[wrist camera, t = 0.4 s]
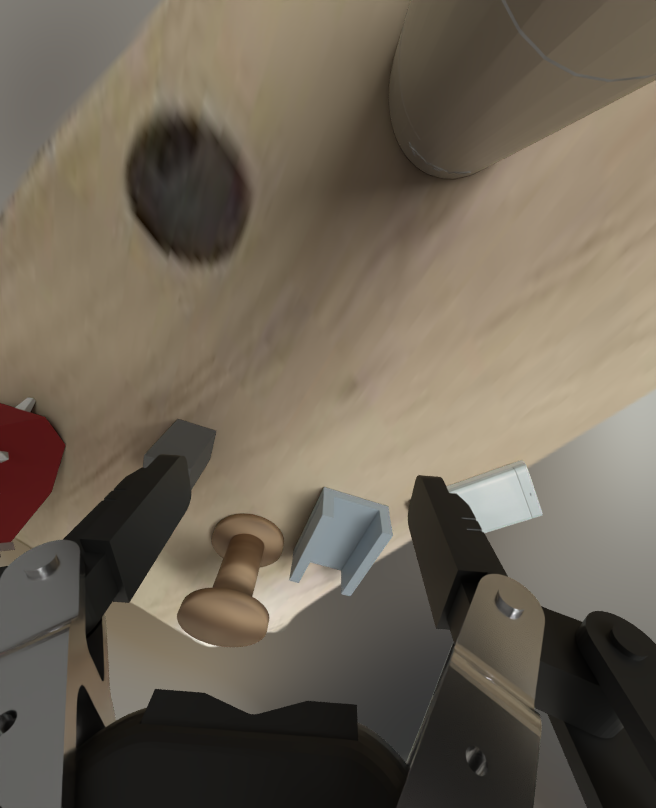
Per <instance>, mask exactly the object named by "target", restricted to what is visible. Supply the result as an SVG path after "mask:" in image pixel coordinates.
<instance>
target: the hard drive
mask: <svg viewBox="0 0 656 808" xmlns="http://www.w3.org/2000/svg"><path fill="white" fill-rule="evenodd" d="M446 487H447V489H448V491H449V493H457V494H458V495H459V496H460V497H461V498H462V499H463V500H464V501H465V502H466V503H467V504H468V505H469V506H470V508H471V510H472V512H473V514H474V515H475V517H476V521H478V523H479V525H480V526H481V528H482V532H484V533H486V532H489V531H493V530H496V529H500V528H503V527H506V526H509V525H512V524H515V523H519V522H522V521H526V520H529V519H532V518H535V517H538V516H542V515H543V514H542V510H541V507H540V504H539V502H538V498H537V495H536V492H535V489H534V486H533V483H532V480H531V478H530V475H529V472H528V469H527V467H526V464H525V463H524V462H523V460H520V461H517V462H514V463H512V464H509V465H506V466H503V467H500V468H497V469H494V470H492V471H489V472H486V473H483V474H480V475H477V476H475V477H472V478H469V479H466V480H463V481H460V482H458V483H455V484H452V485H449V486H446ZM410 500H411V499H410Z"/></svg>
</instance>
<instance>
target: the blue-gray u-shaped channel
mask: <svg viewBox="0 0 656 808" xmlns="http://www.w3.org/2000/svg"><path fill="white" fill-rule="evenodd" d="M392 536H393V533H392V527H391V521H390V516H389V508H388V506H385V505H382V504H379V503H375V502H372V501H369V500H365V499H362V498H359V497H355V496H352V495H349V494H346V493H342V492H339V491H336V490H332V489H329V488H326V487H324V488H323V490H322V492H321V494H320V497H319V499H318V501H317V503H316V505H315V507H314V509H313V511H312V513H311V515H310V517H309V519H308V522H307V524H306V526H305V528H304V530H303V532H302V534H301V536H300V538H299V540H298V542H297V544H296V546H295V549H294V551H293V560H292V566H291V572H290V579H289V580H290V581H293V582H297V583H299V581H300V580H301V578H302V576H303V574H304V572H305V570H306V568H307V567H308V565H309V563H310V562H311V563H315V564H319V565H323V566H326V567H330V568H334V569H337V570H341V593H342V594H344V595H348V596H351V594H352V593H353V592H354V590H355V589H356V587H357V586H358V585H359V583H360V582H361V580H362V579H363V577H364V576H365V575H366V573H367V572H368V570H369V569H370V567H371V566H372V565H373V563H374V562H375V560H376V559H377V557H378V556H379V555H380V553H381V552H382V550H383V549H384V547H385V546H386V545H387V543H388V542H389V540H390V539H391V538H392Z"/></svg>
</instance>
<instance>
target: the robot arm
mask: <svg viewBox="0 0 656 808" xmlns="http://www.w3.org/2000/svg"><path fill="white" fill-rule="evenodd" d="M655 80H656V0H410V3H409V7H408V10H407V13H406V17H405V20H404V24H403V27H402V31H401V35H400V38H399V42H398V45H397V49H396V52H395V56H394V60H393V65H392V70H391V76H390V81H389V109H390V117H391V124H392V127H393V130H394V133H395V136H396V139H397V141H398V143H399V145H400V147H401V148H402V150H403V152H404V154H405V155H406V156H407V158H408V159H409V160H410V161H411V162H412V163H413V164H414V165H415V166H416V167H418V168H419V169H421V170H422V171H424V172H425V173H427V174H429V175H433V176H436V177H439V178H452V179H456V178H461V177H465V176H470V175H472V174H474V173H476V172H479V171H481V170H483V169H485V168H487V167H489V166H491V165H493V164H495V163H497V162H499V161H500V160H502V159H505V158H507V157H509V156H511V155H513V154H514V153H516V152H518V151H520V150H522V149H524V148H526V147H528V146H530V145H532V144H534V143H536V142H538V141H539V140H541V139H543V138H545V137H547V136H549V135H551V134H553V133H555V132H557V131H559V130H561V129H563V128H564V127H566V126H568V125H570V124H572V123H574V122H576V121H578V120H580V119H582V118H584V117H586V116H587V115H589V114H591V113H593V112H595V111H597V110H599V109H601V108H603V107H605V106H607V105H609V104H611V103H612V102H614V101H616V100H618V99H620V98H622V97H624V96H626V95H628V94H630V93H632V92H634V91H635V90H637V89H639V88H641V87H643V86H645V85H647V84H649V83H651V82H653V81H655ZM190 500H191V485H190V478H189V471H188V465H187V460H186V457H185V456H180V455H167V454H160V455H158V456H157V457H156V458H155V459H154V460H153V462H152V463H151V464H150V465H149V466H148V467H147V468H140V469H139V470H137V471H135V472H133V473H132V474H130V475H128V476H127V477H125V478H124V479H123V480H122V481H121V482H120V483H119V484H118V485H117V486H116V487H115V488H114V491H111V492H110V493H109V494H108V495H107V496H106V497H105V498H104V501H101V502H100V503H99V504H98V505H97V506H96V507H95V508H94V509H93V510H92V511H91V512H90V513H89V514H88V515H87V516H86V517H85V518H84V519H83V520H82V521H81V522H80V523H79V524H78V525H77V526H76V527H75V528H74V529H73V530H72V531H71V532H70V533H69V534H68V535H67V536H66V537H65V538H64V539H63V540H56V541H51V542H47V543H44V544H42V545H39V546H37V547H35V548H32V549H31V550H29V551H27V552H26V553H24V554H22V555H21V556H19V557H18V558H17V559H15V560H14V561H13V562H12V563H11V564H10V565H9V566H5V567H0V808H533V805H534V796H535V787H536V777H537V768H538V759H539V750H540V740H541V717H540V714H539V713H537V712H536V711H535V710H534V708H536V709H538V710H541V711H543V712H545V713H547V714H548V716H549V719H550V721H551V723H552V726H553V728H554V730H555V733H556V735H557V738H558V740H559V742H560V744H561V747H562V749H563V752H564V754H565V757H566V759H567V761H568V764H569V766H570V768H571V771H572V773H573V775H574V778H575V780H576V783H577V785H578V787H579V790H580V792H581V794H582V797H583V799H584V801H585V804H586V806H587V808H656V644H655V643H654V642H653V641H652V640H651V639H650V638H649V637H648V636H647V635H646V634H645V633H643V632H642V631H641V630H640V629H638V628H637V627H636V626H634V625H633V624H631V623H630V622H628V621H626V620H624V619H623V618H621V617H619V616H616V615H614V614H611V613H608V612H603V611H595V612H591V613H589V614H588V616H587V617H586V618H585V620H584V621H583V622H581V621H579V620H576V619H573V618H570V617H568V616H565V615H562V614H560V613H557V612H554V611H552V610H549V609H547V608H544V607H542V606H541V605H540V603H539V602H538V600H537V599H536V598H535V596H534V595H533V594H532V593H531V592H530V591H529V590H528V589H527V588H526V587H524V586H523V585H521V584H520V583H519V582H517V581H515V580H514V579H511V578H509V577H508V576H507V574H506V572H505V570H504V569H503V567H502V565H501V563H500V561H499V559H498V558H497V556H496V554H495V552H494V550H493V548H492V547H491V545H490V543H489V541H488V540H487V537H486V536H485V534H484V532H482V528H481V526H480V525H479V523H478V521H476V517H475V515H474V514H473V512H472V510H471V508H470V506H469V505H468V504H467V503H466V502H465V501H464V500H463V499H462V498H461V497H460V496H459V495H458V494H457V493H449V491H448V489H447V487H446V485H445V483H444V481H443V479H442V478H441V477H434V476H422V475H418V476H417V478H416V481H415V485H414V489H413V493H412V497H411V501H410V505H409V510H408V525H409V530H410V534H411V537H412V541H413V545H414V548H415V552H416V556H417V560H418V563H419V567H420V571H421V574H422V578H423V582H424V586H425V589H426V593H427V596H428V600H429V604H430V607H431V611H432V615H433V619H434V622H435V626H436V629H449V630H450V631H451V634H452V638H453V641H454V642H453V644H452V647H451V649H450V652H449V655H448V657H447V660H446V662H445V665H444V668H443V670H442V673H441V675H440V678H439V681H438V683H437V686H436V688H435V691H434V694H433V697H432V699H431V701H430V704H429V707H428V709H427V712H426V714H425V717H424V720H423V722H422V725H421V727H420V729H419V732H418V735H417V737H416V740H415V742H414V744H413V747H412V749H411V752H410V755H409V757H408V760H407V762H406V763H405V761H404V760H403V759H402V758H401V756H400V755H399V754H398V753H397V752H396V751H395V750H394V749H393V748H392V746H391V745H390V744H389V743H387V742H386V741H385V740H384V739H383V738H382V737H381V736H379V735H378V734H377V733H375V732H374V731H372V730H371V729H369V728H368V727H366V726H364V725H362V724H360V723H358V722H357V705H353V704H341V703H327V702H315V701H305V702H301V703H298V704H294V705H290V706H286V707H283V708H279V709H275V710H271V711H268V712H264V713H260V714H255V715H254V714H248V713H246V712H244V711H242V710H239V709H237V708H235V707H233V706H231V705H229V704H227V703H225V702H223V701H221V700H219V699H216V698H214V697H212V696H210V695H208V694H206V693H199V692H187V691H174V690H161V689H155V690H154V693H153V695H152V698H151V699H150V702H149V704H148V706H147V708H144V709H141V710H138V711H136V712H133V713H131V714H128V715H126V716H124V717H122V718H120V719H119V720H117V721H116V719H115V713H114V707H113V703H112V699H111V693H110V683H109V664H108V646H107V627H106V616H105V614H104V613H105V612H106V610H107V609H108V607H109V606H110V604H111V603H112V601H113V602H125V603H129V602H130V601H131V599H132V597H133V596H134V594H135V593H136V591H137V589H138V588H139V586H140V585H141V583H142V581H143V580H144V578H145V576H146V575H147V573H148V572H149V570H150V568H151V567H152V565H153V564H154V562H155V560H156V559H157V557H158V556H159V554H160V552H161V551H162V549H163V548H164V546H165V544H166V543H167V541H168V539H169V538H170V536H171V535H172V533H173V531H174V530H175V528H176V527H177V525H178V523H179V522H180V520H181V519H182V517H183V515H184V514H185V512H186V510H187V509H188V506H189V504H190Z"/></svg>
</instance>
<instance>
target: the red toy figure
mask: <svg viewBox="0 0 656 808" xmlns="http://www.w3.org/2000/svg"><path fill="white" fill-rule="evenodd" d="M34 403H35V400H34V399H33V398H29V397H28V398H26V399H25V400H24V401H22V402H21V403H20V404H19V405H17V406H16V407H15V408H14V407H11V406H8V405H5V404H1V403H0V551H7V550H15V548H14V544H13V542H11V541H12V540H13V539H14V538H15V536H16V535H17V534H18V533H19V531H20V530H21V529H22V528H23V527H24V525H25V524H26V523H27V522H28V520H29V519H30V518H31V517H32V516H33V514H34V513H35V512H36V511H37V509H38V508H39V507H40V506H41V505H42V503H43V502H44V501H45V500H46V498H47V497H48V496H49V495H50V493H51V492H52V489H53V486H54V482H55V479H56V475H57V472H58V469H59V465H60V462H61V459H62V455H63V452H64V449H65V444H64V442H63V441H62V440H61V438H60V437H59V435H58V434H57V433H56V431H55V430H54V429H53V427H52V426H51V424H50V423H49V422H48V420H47V419H46V417H43V416H40V415H37V414H34V413H31V410H32V407H33V405H34ZM0 557H1V556H0Z"/></svg>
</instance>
